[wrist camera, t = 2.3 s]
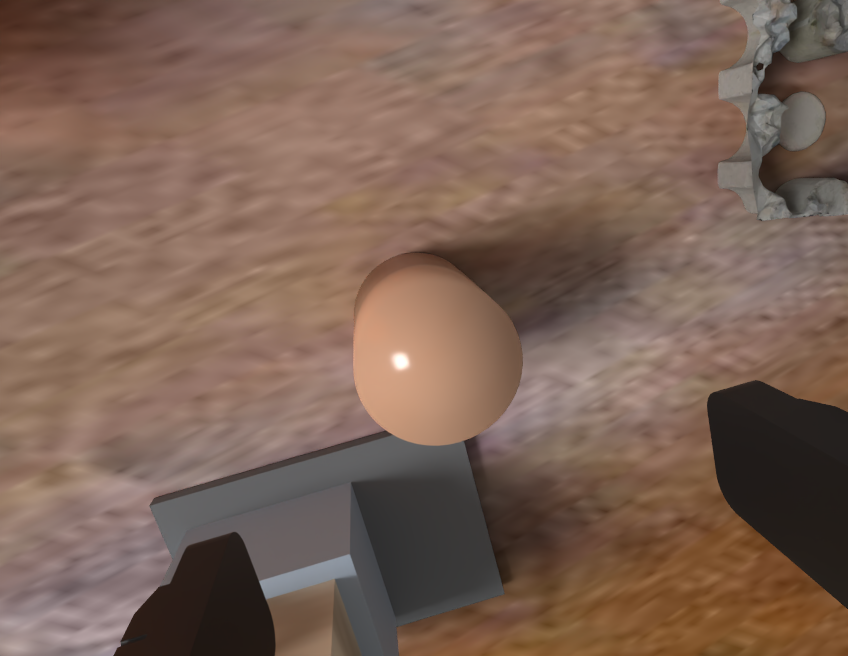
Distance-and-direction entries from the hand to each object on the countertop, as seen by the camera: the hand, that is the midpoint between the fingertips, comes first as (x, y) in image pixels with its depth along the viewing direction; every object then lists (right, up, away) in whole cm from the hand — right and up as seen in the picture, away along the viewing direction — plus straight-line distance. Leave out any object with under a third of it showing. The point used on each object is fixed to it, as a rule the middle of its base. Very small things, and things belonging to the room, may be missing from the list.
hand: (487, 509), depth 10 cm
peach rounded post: (-1, +4, +14) cm, 15 cm away
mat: (-5, -6, +17) cm, 18 cm away
